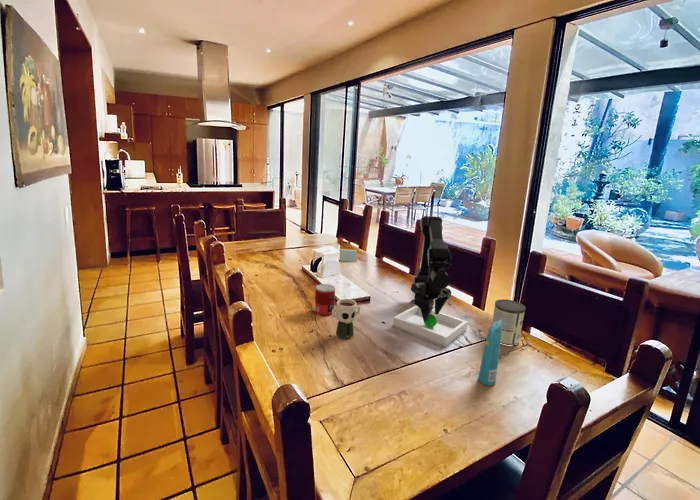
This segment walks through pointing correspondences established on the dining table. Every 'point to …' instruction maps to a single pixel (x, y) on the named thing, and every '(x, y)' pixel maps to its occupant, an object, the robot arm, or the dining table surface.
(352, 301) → the character mug
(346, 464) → the dining table surface
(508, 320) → the coffee can
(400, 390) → the dining table surface
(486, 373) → the tube
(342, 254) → the l-shaped corner panel
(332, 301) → the canned food
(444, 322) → the white tray
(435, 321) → the polyhedron
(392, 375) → the dining table surface
